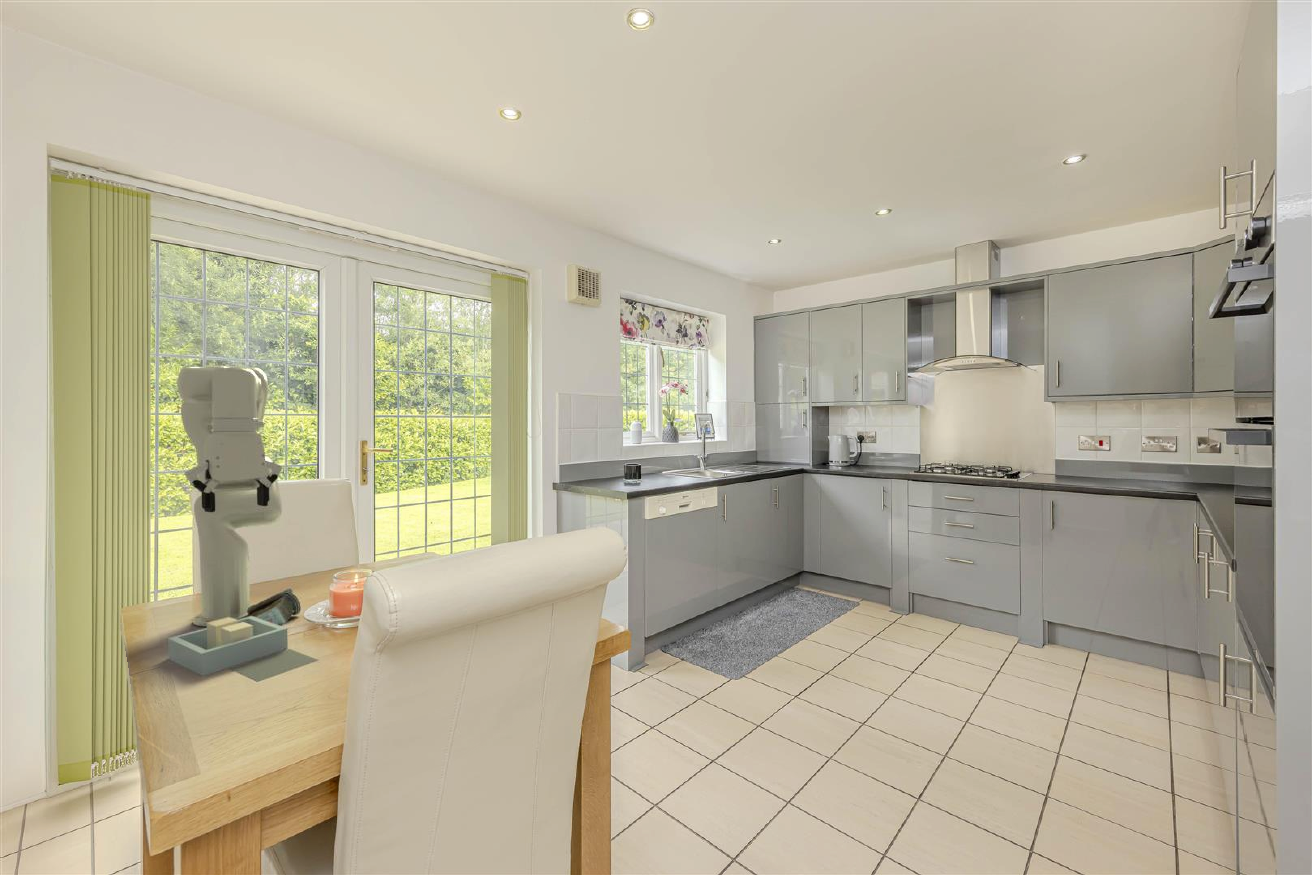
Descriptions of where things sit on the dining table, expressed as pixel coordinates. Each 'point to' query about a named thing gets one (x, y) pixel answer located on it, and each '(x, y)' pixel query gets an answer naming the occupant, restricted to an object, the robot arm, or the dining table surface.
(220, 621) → the stone
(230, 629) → the stone
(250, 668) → the dark mat
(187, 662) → the blue bin
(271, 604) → the dark piece
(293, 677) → the dining table surface
